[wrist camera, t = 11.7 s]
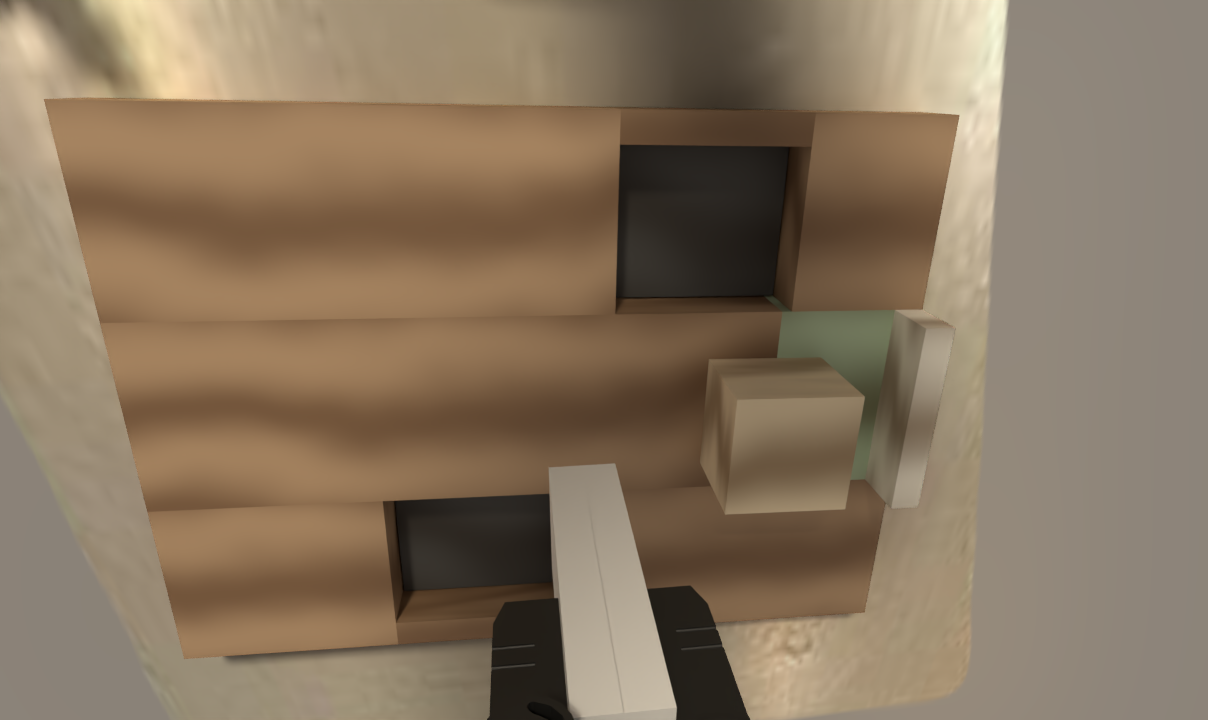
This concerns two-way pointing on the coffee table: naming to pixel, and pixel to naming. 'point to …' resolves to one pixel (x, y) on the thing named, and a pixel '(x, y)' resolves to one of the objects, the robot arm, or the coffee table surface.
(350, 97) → the coffee table surface
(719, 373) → the maple block
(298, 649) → the board
